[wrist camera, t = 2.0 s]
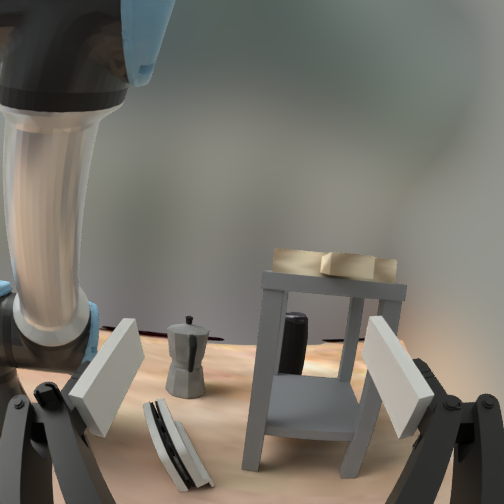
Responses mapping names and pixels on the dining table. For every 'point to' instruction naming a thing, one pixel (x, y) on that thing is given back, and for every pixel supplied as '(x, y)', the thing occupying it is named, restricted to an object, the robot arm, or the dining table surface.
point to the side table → (315, 388)
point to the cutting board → (334, 265)
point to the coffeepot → (186, 359)
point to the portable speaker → (294, 343)
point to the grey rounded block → (174, 447)
